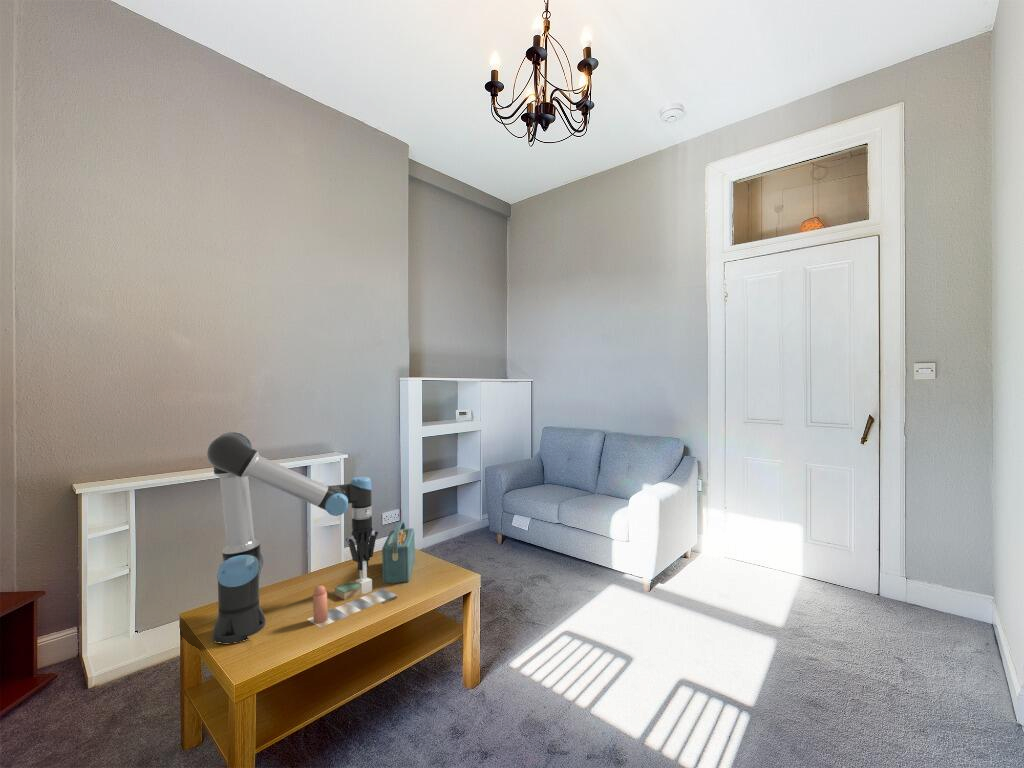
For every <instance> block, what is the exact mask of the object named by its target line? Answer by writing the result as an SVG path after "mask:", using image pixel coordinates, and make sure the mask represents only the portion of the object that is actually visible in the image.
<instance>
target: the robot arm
mask: <svg viewBox="0 0 1024 768" xmlns="http://www.w3.org/2000/svg"><path fill="white" fill-rule="evenodd" d="M206 454H207V459H208V461H209V463H210V464H211V465H212V466H213V473H214V476H216V477H218V478H219V482H220V483H219V484H220V492H221V502H222V511H223V521H224V531H225V541H226V545H225V547H223V549H222V551H221V552H222V562H221V563H220V565H219V566H218V569H217V574H216V578H217V601H218V602H217V603H218V605H217V606H218V614H217V616H216V621H215V622H214V623H215V624H214V626H213V628H212V629H213V630H212V641H213V640H214V641H216V642H221V643H234V642H239V643H241V642H240V641H243V640H246V639H249V640H250V638H249V637H251V636H252V635H255V634H257V633H258V632H260V631H261V630H262V629H264V628H265V626H266V624H267V620H266V617H265V614H264V612H263V609H262V607H261V604H260V577H261V573H262V570H263V565H264V557H263V554H262V551H261V550H262V549H261V543H260V541H259V540H257V539H255V531H254V522H253V521H254V520H253V511H252V501H251V493H250V490H251V489H250V483H249V482H250V481H249V479H252V480H255V482H256V481H257V482H260V483H261V484H264V485H266V486H269V487H271V488H274V489H275V490H278V491H280V492H282V493H285V494H286V495H290V496H292V497H294V498H297V499H299V500H302V501H303V502H307V503H308V504H310V505H313V506H315V507H318V508H320V509H322V510H325V511H326V512H327V513H328V514H329V515H330V516H333V517H338V516H342V515H343V514H344V513H345V512H346V511H348V508H349V504H351V518H352V519H351V529H352V532H351V535H350V536H349V537H346V539H345V541H346V543H347V544H348V548H349V551H350V554H351V559H352V561H353V562H356V563H357V570H358V571H359V579H361V578H363V579H365V578H368V573H367V572H368V571H367V570H368V568H369V561H370V560H371V559H370V558H373V556H374V550H375V546H376V545H375V544H376V539H377V536H378V535H379V532H378V531H377V530H373V517H372V514H373V513H372V512H373V509H372V507H373V505H372V503H373V502H372V498H373V497H372V480H371V478H370V477H369V476H357V477H352V478H351V479H350V483H346V484H335V485H333V484H332V485H325V484H323V483H322V482H319V481H317V480H315V479H312V478H311V477H308V476H306V475H303V474H301V473H299V472H297V471H294V470H292V469H290V468H287V467H285V466H283V465H280V464H279V463H276V462H274V461H272V460H270V459H268V458H267V457H266V458H265V457H263V456H261V455H260V453H259V451H258V450H255V449H253V446H252V442H251V441H250V439H249V438H248V437H247V436H246V435H244V434H242V433H239V432H236V431H235V432H231V431H230V432H225V433H223V434H221V435H220V436H218V437H216V438H215V439H214V440H213V441H211V443H210V444H209V446H208V448H207V452H206ZM214 641H213V642H214ZM246 641H247V640H246ZM243 642H244V641H243ZM234 644H235V643H234Z"/></svg>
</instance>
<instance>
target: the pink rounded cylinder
mask: <svg viewBox="0 0 1024 768" xmlns="http://www.w3.org/2000/svg"><path fill="white" fill-rule="evenodd" d="M326 589H327V588H326V587H325V586H324V585H318V586H316V587H315V589H314V591H313V594H312V604H313V605H312V606H313V607H312V608H313V611H312V613H313V616H314V623H317V624H319V623H323V622H325V621H327V620H328V592H327V591H326ZM314 623H313V624H314Z"/></svg>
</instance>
